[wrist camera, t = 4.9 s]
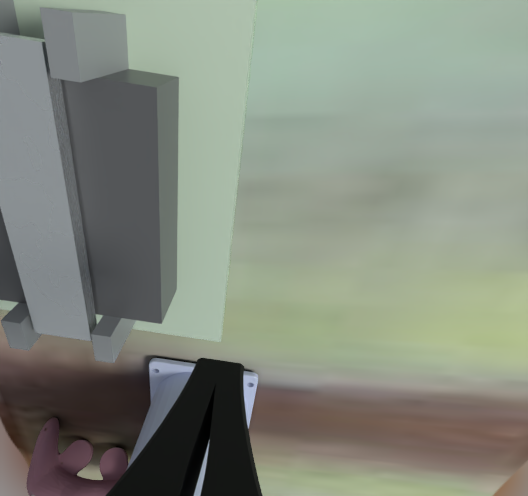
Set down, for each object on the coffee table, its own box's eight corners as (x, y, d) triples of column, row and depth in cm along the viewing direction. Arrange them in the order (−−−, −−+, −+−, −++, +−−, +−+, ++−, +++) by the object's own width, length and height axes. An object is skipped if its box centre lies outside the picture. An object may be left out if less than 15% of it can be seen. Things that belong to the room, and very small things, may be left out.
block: (98, 330, 20) (91, 340, 19) (43, 322, 20) (35, 332, 19) (55, 41, 13) (41, 41, 12) (-32, 27, 12) (-50, 27, 12)
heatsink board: (222, 335, 25) (207, 399, 21) (-11, 300, 25) (-74, 358, 20) (259, -24, 14) (245, -44, 10) (-150, -92, 14) (-343, -141, 10)
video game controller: (58, 418, 35) (20, 507, 31) (42, 414, 31) (-4, 514, 27) (160, 440, 35) (134, 528, 32) (157, 438, 31) (127, 539, 28)
